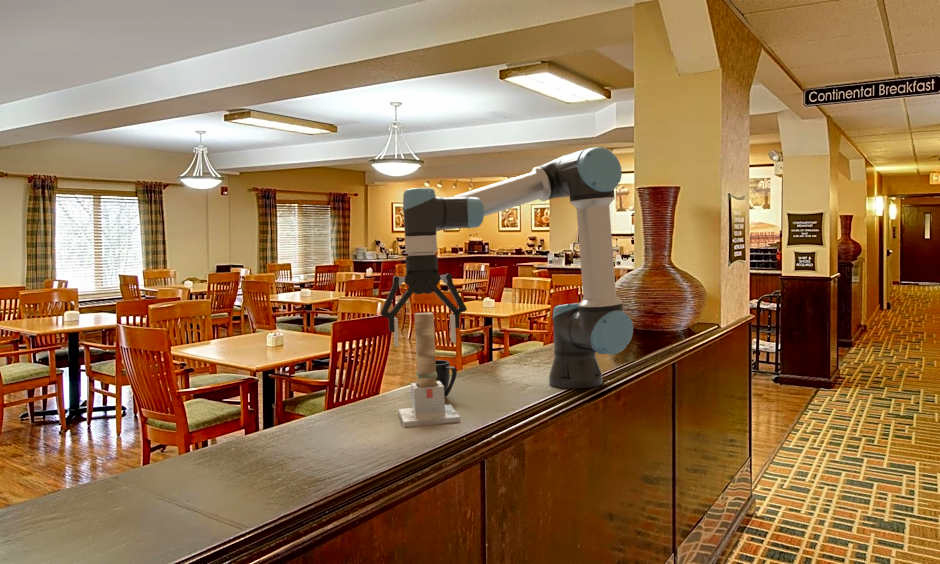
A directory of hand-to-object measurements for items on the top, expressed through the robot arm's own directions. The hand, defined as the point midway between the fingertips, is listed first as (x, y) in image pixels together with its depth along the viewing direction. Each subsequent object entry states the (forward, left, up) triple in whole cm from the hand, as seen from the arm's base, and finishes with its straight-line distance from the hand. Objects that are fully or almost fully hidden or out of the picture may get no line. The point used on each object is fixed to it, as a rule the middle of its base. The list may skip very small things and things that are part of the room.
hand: (425, 344), depth 160 cm
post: (0, 0, -12) cm, 12 cm away
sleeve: (0, 0, -18) cm, 18 cm away
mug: (-6, -20, -18) cm, 28 cm away
